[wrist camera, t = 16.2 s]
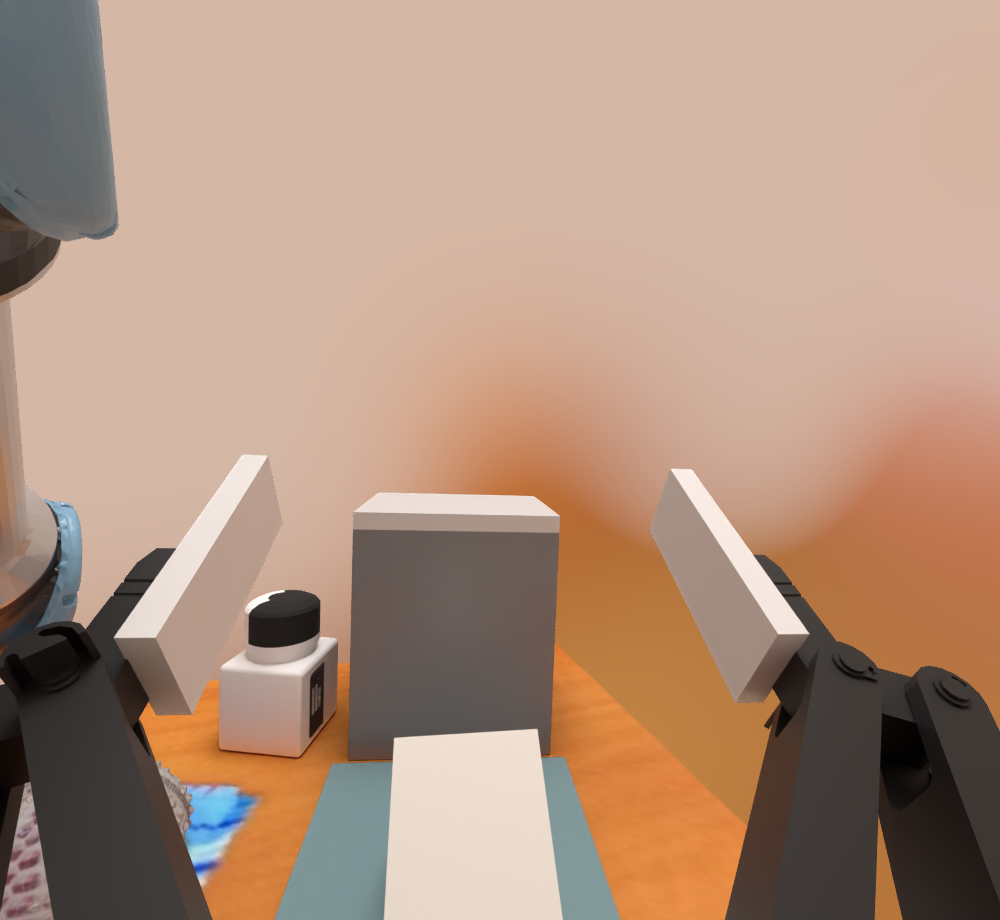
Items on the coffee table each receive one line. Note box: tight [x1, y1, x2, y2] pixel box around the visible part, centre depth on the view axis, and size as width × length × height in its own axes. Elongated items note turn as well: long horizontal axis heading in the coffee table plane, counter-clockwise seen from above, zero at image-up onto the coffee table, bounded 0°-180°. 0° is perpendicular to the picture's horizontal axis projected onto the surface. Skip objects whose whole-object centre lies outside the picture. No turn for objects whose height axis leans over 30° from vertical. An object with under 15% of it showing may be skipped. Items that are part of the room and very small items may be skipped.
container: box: [219, 590, 338, 757], centre depth 46 cm, size 8×8×13 cm
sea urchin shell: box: [0, 761, 194, 920], centre depth 29 cm, size 13×14×8 cm
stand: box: [348, 493, 560, 760], centre depth 49 cm, size 14×18×22 cm
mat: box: [274, 757, 620, 920], centre depth 32 cm, size 20×20×1 cm
